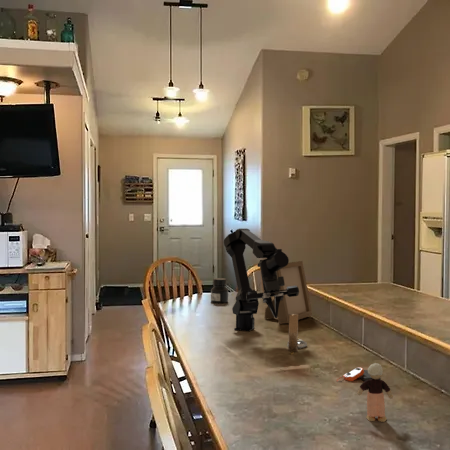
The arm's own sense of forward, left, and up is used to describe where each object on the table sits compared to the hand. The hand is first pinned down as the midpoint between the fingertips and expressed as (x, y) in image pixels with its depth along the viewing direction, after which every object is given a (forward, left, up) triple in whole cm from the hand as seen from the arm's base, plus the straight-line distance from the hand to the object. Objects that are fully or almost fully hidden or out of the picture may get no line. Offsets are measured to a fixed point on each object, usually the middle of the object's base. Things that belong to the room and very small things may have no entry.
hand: (276, 317), depth 186 cm
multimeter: (+29, -31, -10) cm, 44 cm away
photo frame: (-8, +45, -10) cm, 46 cm away
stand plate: (+8, -4, -9) cm, 13 cm away
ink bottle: (-50, +73, -10) cm, 89 cm away
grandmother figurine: (+38, -57, -10) cm, 70 cm away
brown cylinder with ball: (+8, -6, -8) cm, 13 cm away
